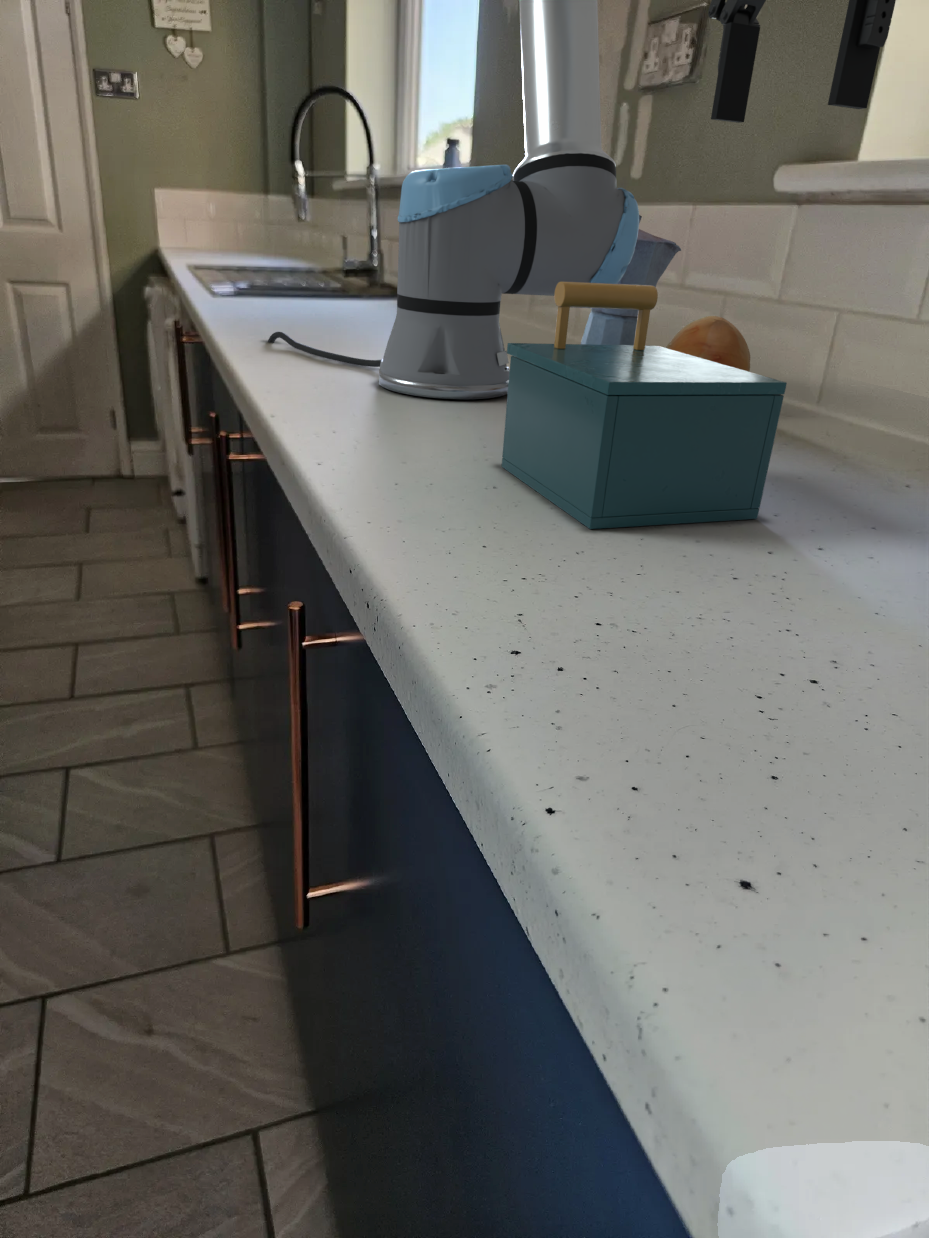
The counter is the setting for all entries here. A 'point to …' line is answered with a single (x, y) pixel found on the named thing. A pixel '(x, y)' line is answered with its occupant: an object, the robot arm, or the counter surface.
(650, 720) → the counter surface
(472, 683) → the counter surface
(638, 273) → the moka pot
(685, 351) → the onion
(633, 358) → the box lid
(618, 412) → the storage box
